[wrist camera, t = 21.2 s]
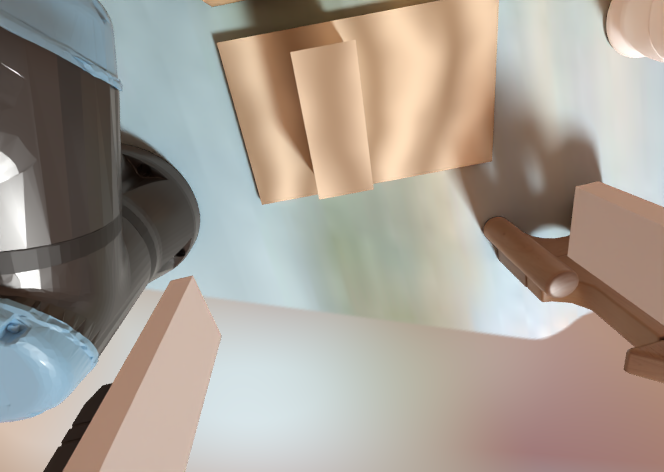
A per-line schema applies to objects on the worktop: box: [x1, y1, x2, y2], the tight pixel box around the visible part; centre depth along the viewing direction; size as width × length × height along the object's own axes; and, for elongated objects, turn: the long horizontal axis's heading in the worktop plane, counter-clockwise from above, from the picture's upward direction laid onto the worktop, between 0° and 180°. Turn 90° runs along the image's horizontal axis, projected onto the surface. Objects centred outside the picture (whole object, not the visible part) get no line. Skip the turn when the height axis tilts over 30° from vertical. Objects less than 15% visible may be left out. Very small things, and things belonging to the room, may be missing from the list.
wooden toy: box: [483, 217, 664, 383], centre depth 33 cm, size 16×7×25 cm, turn 106°
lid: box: [217, 0, 499, 205], centre depth 33 cm, size 26×16×8 cm, turn 100°
